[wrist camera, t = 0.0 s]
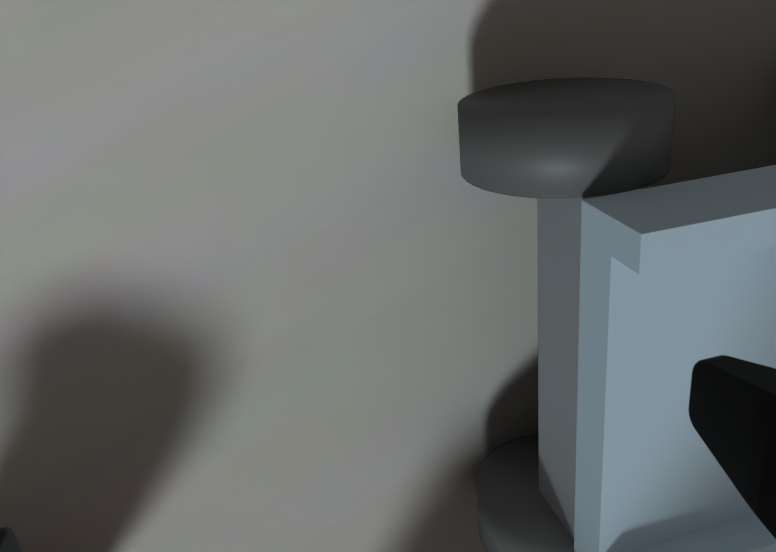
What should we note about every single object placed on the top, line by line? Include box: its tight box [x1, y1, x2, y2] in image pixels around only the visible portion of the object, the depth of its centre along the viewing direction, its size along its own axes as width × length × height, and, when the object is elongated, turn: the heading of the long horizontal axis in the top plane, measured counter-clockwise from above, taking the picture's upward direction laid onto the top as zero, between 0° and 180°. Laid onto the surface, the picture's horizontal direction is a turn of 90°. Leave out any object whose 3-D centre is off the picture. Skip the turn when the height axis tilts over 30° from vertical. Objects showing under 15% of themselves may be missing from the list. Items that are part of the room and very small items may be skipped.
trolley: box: [458, 78, 776, 552], centre depth 24 cm, size 19×16×9 cm
